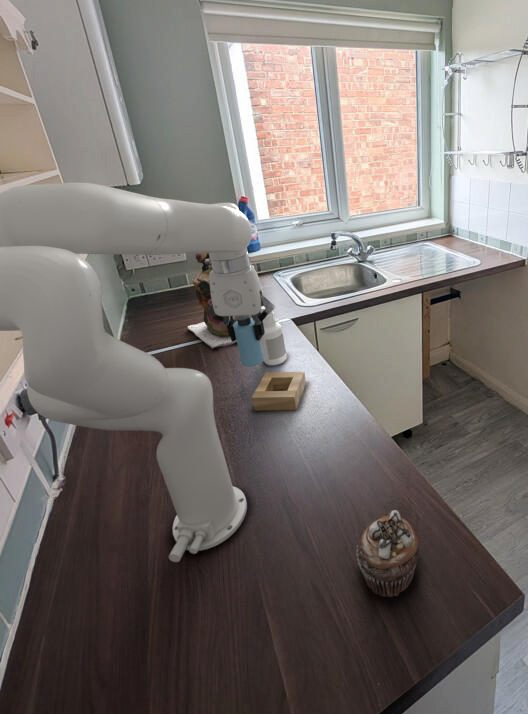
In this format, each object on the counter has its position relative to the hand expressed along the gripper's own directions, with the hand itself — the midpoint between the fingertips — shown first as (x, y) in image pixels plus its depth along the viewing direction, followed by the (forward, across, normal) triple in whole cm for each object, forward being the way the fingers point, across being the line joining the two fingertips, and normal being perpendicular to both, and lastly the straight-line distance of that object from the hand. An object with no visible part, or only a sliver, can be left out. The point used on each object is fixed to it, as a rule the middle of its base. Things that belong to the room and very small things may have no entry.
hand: (247, 337), depth 92 cm
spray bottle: (+22, -4, +24) cm, 33 cm away
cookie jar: (+23, -26, +46) cm, 58 cm away
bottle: (+6, 0, 0) cm, 6 cm away
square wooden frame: (+22, +2, +6) cm, 23 cm away
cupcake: (+21, +32, -38) cm, 54 cm away
